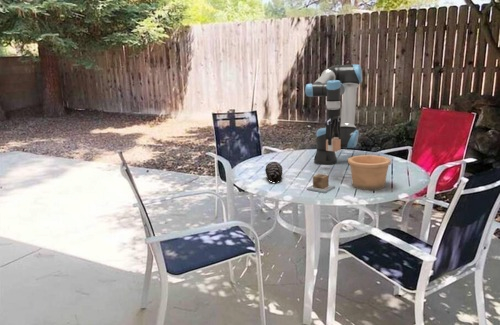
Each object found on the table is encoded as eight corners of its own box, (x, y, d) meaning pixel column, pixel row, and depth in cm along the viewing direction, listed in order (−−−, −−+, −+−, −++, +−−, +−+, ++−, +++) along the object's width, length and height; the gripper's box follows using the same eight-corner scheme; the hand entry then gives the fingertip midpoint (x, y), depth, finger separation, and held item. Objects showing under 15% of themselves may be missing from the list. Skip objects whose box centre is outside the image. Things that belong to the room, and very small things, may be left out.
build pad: (306, 189, 217) (306, 187, 217) (316, 184, 225) (316, 182, 225) (325, 193, 210) (325, 191, 210) (335, 187, 218) (335, 185, 218)
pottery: (365, 194, 206) (366, 166, 203) (339, 183, 226) (339, 158, 222) (398, 187, 214) (400, 160, 211) (371, 177, 234) (371, 153, 230)
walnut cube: (313, 187, 217) (312, 176, 215) (318, 184, 221) (318, 173, 220) (323, 189, 213) (323, 178, 212) (328, 186, 218) (328, 175, 216)
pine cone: (268, 184, 230) (268, 167, 227) (264, 176, 247) (263, 160, 244) (286, 183, 231) (286, 166, 228) (281, 175, 248) (280, 159, 245)
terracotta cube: (325, 150, 232) (325, 140, 230) (331, 148, 236) (331, 138, 235) (335, 151, 228) (335, 141, 226) (340, 149, 232) (340, 139, 231)
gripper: (331, 110, 217) (331, 153, 222) (347, 107, 231) (346, 147, 237) (318, 110, 222) (319, 152, 227) (335, 106, 236) (335, 146, 241)
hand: (333, 149), depth 232 cm, fingers closed on terracotta cube, 6 cm apart
